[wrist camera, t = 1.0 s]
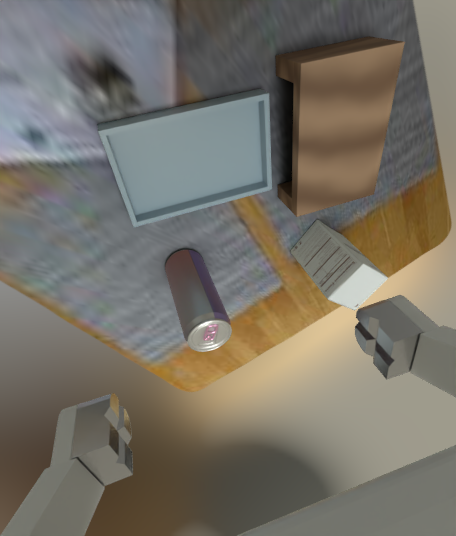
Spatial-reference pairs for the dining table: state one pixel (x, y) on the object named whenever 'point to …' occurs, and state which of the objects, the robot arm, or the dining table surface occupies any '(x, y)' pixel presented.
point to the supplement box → (337, 266)
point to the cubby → (338, 119)
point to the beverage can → (197, 302)
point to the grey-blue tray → (191, 155)
